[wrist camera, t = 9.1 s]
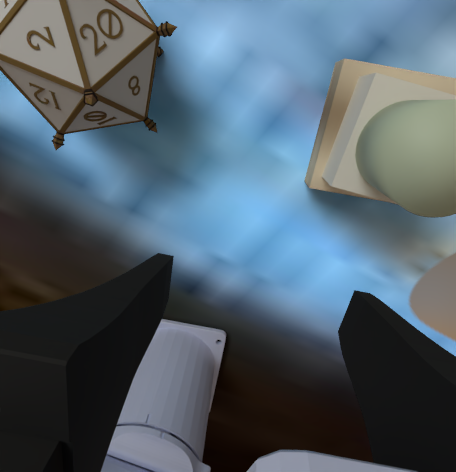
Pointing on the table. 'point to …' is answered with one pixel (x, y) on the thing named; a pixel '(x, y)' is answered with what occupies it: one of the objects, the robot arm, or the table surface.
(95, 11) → the game die
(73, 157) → the table surface
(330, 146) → the birch base block
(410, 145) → the green capsule
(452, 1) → the table surface
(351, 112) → the cream block
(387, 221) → the table surface
